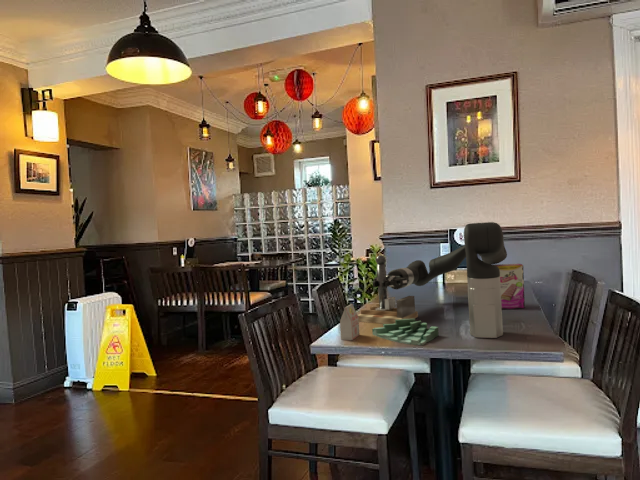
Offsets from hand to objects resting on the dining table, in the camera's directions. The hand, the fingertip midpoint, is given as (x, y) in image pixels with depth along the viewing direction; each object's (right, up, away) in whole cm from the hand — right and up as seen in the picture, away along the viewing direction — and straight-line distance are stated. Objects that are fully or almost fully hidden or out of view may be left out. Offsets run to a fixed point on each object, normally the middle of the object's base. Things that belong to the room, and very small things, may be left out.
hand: (378, 284), depth 168 cm
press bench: (+3, -13, +2) cm, 13 cm away
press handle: (+3, -11, +2) cm, 11 cm away
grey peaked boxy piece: (-11, -15, -21) cm, 28 cm away
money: (+5, -14, -24) cm, 28 cm away
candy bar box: (+50, -10, +8) cm, 52 cm away
